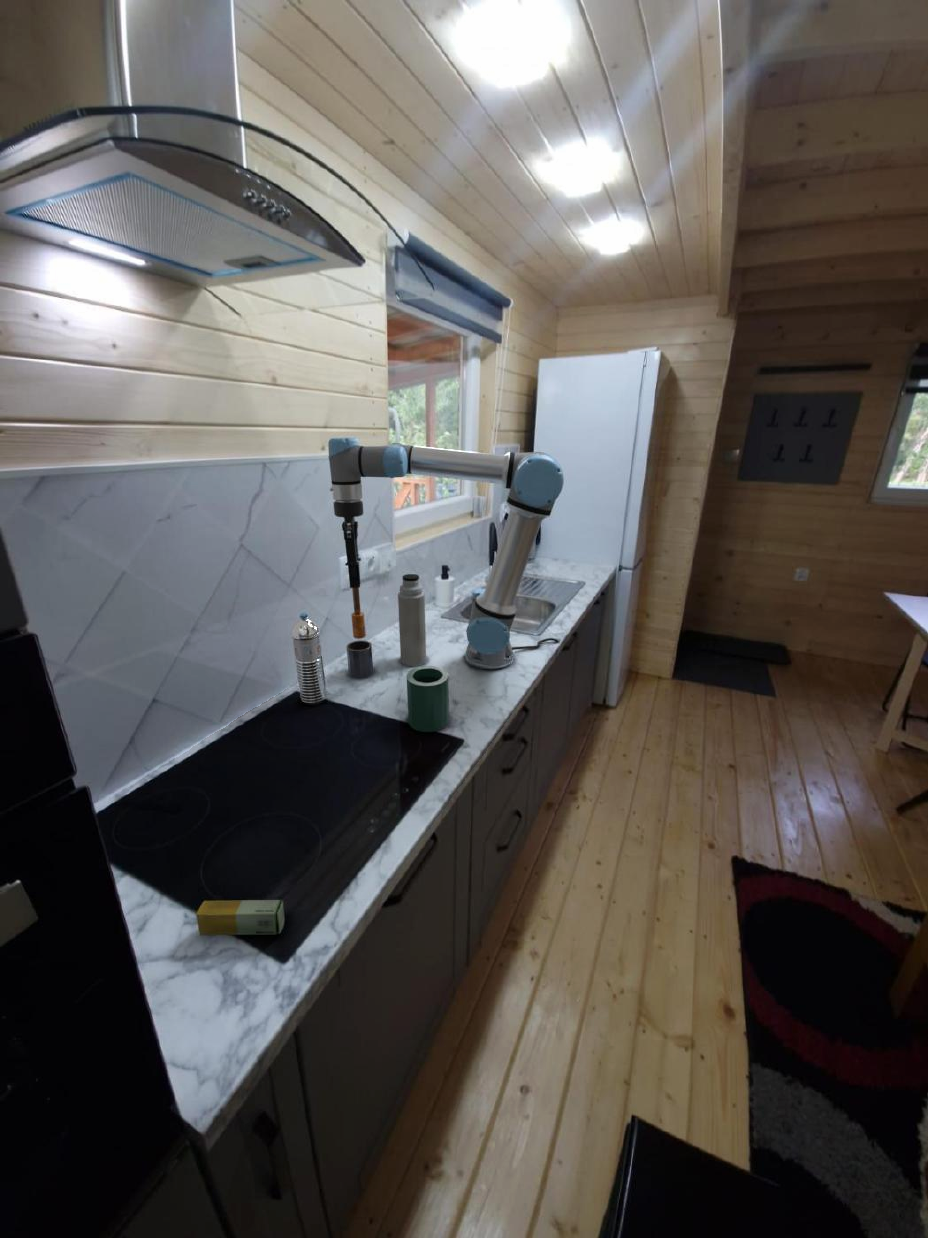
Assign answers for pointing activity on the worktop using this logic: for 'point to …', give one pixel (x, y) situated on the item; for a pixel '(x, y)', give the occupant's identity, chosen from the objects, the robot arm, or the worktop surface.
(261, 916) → the medication box
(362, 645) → the holder
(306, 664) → the water bottle
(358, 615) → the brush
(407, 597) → the thermos bottle
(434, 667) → the jar
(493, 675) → the worktop surface
